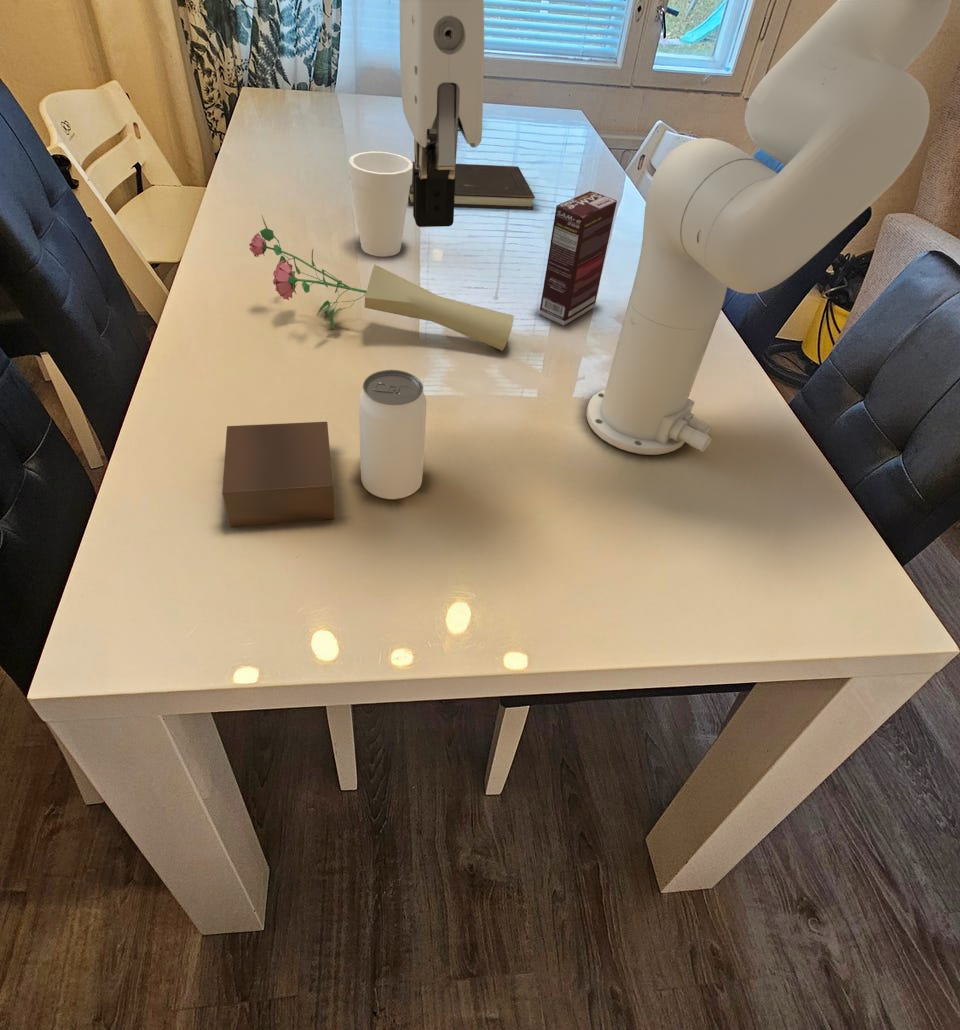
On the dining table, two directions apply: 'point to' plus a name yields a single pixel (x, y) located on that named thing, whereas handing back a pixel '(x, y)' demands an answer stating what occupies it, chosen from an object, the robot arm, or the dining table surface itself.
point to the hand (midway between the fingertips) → (433, 222)
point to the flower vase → (396, 298)
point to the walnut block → (277, 473)
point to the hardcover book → (488, 187)
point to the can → (392, 433)
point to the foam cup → (380, 199)
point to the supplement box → (576, 256)
